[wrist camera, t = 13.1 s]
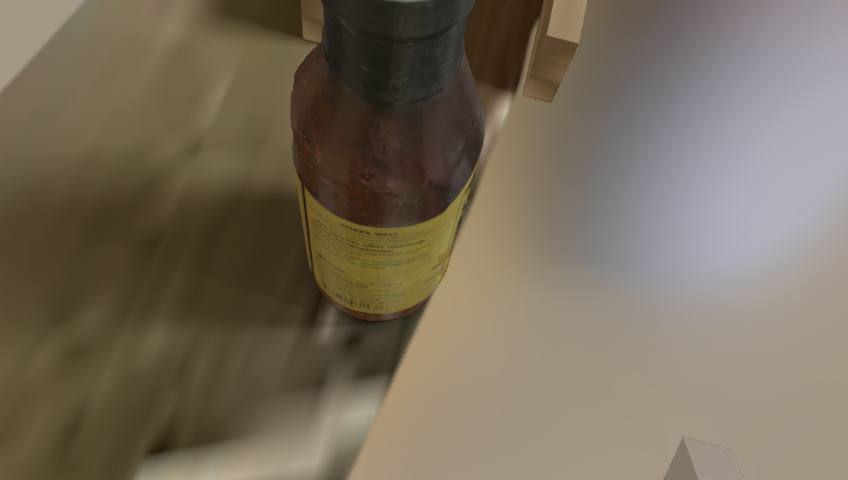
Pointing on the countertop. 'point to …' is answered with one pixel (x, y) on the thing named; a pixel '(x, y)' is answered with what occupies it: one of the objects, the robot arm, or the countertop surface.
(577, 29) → the wooden u-shaped frame
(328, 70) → the sauce bottle
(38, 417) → the countertop surface
